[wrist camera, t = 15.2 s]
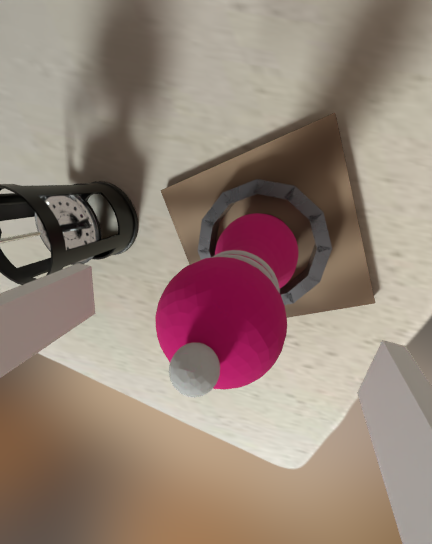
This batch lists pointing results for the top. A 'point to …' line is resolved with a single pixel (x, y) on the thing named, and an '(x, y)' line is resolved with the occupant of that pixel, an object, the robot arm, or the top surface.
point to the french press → (65, 225)
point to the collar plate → (288, 209)
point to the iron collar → (296, 198)
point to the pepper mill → (229, 308)
